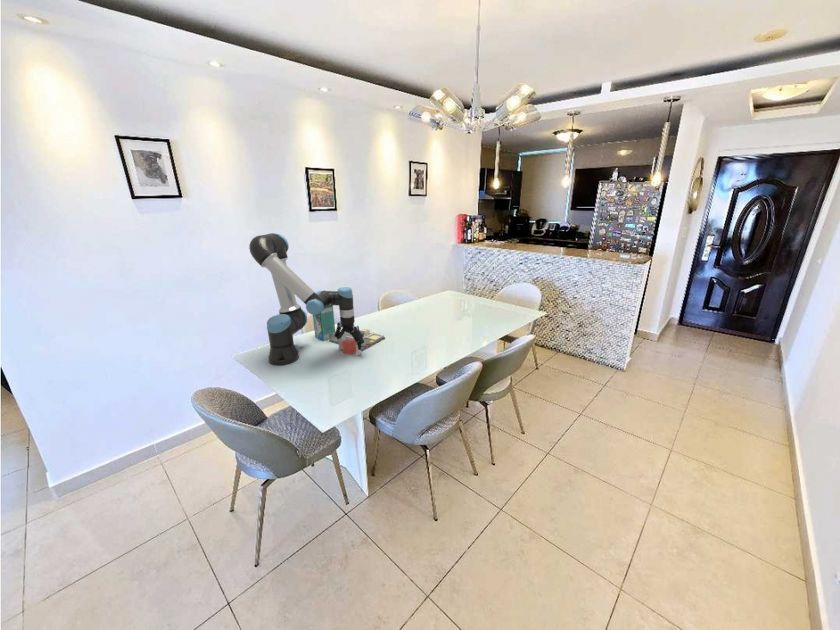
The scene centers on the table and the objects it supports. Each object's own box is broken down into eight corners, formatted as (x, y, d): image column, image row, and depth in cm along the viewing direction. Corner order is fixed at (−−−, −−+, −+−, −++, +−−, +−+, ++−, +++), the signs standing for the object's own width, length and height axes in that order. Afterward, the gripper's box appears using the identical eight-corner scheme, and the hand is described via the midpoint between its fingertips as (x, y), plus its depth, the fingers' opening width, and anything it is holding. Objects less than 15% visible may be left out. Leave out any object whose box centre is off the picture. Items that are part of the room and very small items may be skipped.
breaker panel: (329, 341, 204) (328, 334, 203) (353, 330, 221) (352, 323, 219) (361, 351, 191) (361, 343, 189) (385, 338, 208) (384, 331, 206)
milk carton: (315, 337, 210) (310, 298, 202) (327, 333, 217) (324, 295, 208) (323, 341, 204) (318, 301, 196) (335, 336, 211) (332, 298, 203)
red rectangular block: (343, 352, 189) (342, 341, 187) (349, 349, 193) (348, 338, 191) (350, 354, 187) (349, 343, 184) (356, 351, 191) (355, 340, 188)
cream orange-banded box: (361, 335, 209) (361, 330, 207) (366, 333, 212) (365, 328, 211) (365, 336, 207) (365, 331, 206) (369, 334, 210) (369, 329, 209)
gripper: (325, 313, 186) (329, 349, 193) (359, 322, 174) (362, 359, 181) (335, 310, 192) (338, 344, 199) (369, 317, 180) (371, 354, 187)
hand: (350, 351), depth 190 cm, fingers open, 13 cm apart
